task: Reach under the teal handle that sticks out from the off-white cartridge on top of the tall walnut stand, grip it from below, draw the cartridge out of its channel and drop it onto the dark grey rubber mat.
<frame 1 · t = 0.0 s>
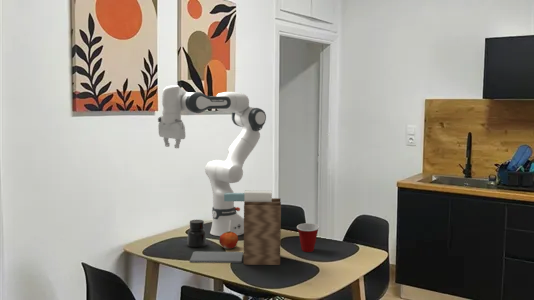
hand: (172, 147, 248), 48 cm above the table, tool pointing down, fingers open, 8 cm apart
plastic cup: (307, 250, 243), on the table
mat: (217, 257, 231), on the table
tomato: (228, 248, 247), on the table
cartridge: (244, 202, 226), point 26 cm above the table, touching stand
ink bottle: (196, 245, 250), on the table
stand: (262, 259, 229), on the table
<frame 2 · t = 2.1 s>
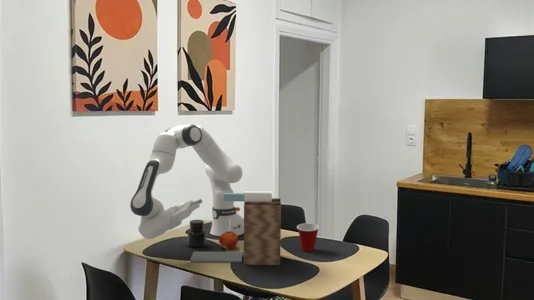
hand: (200, 202, 226), 26 cm above the table, tool pointing upward, fingers open, 8 cm apart
nothing on the table moved.
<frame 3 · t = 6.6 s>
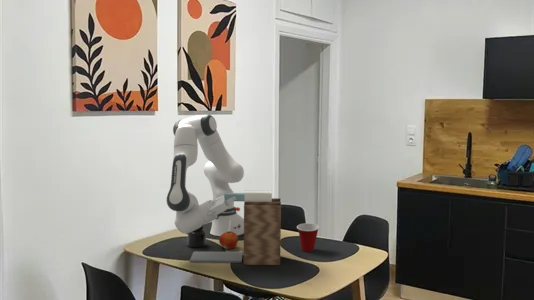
hand: (236, 196, 226), 29 cm above the table, tool pointing upward, fingers closed on cartridge, 3 cm apart
cartridge: (244, 202, 226), point 26 cm above the table, touching gripper, stand
everything else where it was.
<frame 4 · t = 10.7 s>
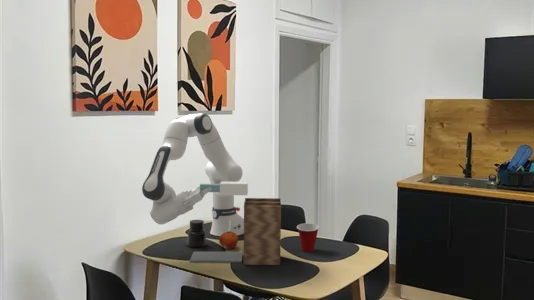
hand: (211, 186, 225), 33 cm above the table, tool pointing upward, fingers closed on cartridge, 3 cm apart
cartridge: (220, 193, 226), point 30 cm above the table, touching gripper
everything else where it was.
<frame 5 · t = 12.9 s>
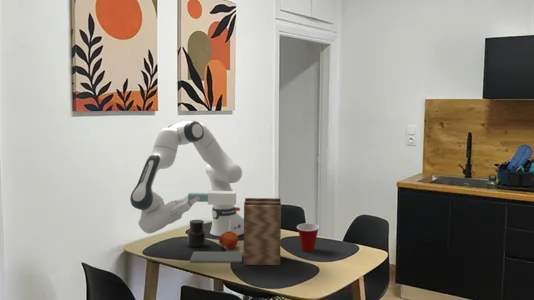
hand: (200, 196, 226), 29 cm above the table, tool pointing upward, fingers closed on cartridge, 3 cm apart
cartridge: (208, 203, 226), point 26 cm above the table, touching gripper
everything else where it was.
when the fingers open (18 cm above the table, at t = 14.9 s): cartridge drops 15 cm, resting on mat.
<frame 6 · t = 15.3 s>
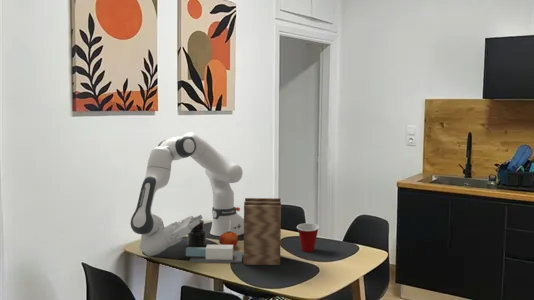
hand: (200, 218, 227), 18 cm above the table, tool pointing upward, fingers open, 7 cm apart
cartridge: (206, 257, 229), point 1 cm above the table, touching mat
everything else where it was.
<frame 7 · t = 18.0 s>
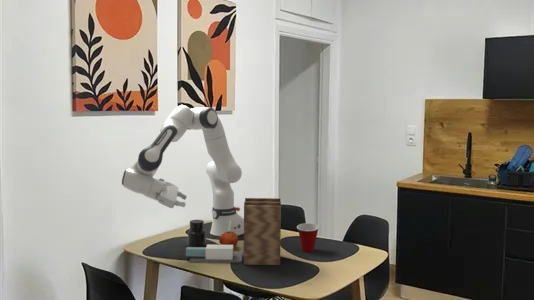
hand: (185, 201, 230), 25 cm above the table, tool tilted 65°, fingers open, 8 cm apart
nothing on the table moved.
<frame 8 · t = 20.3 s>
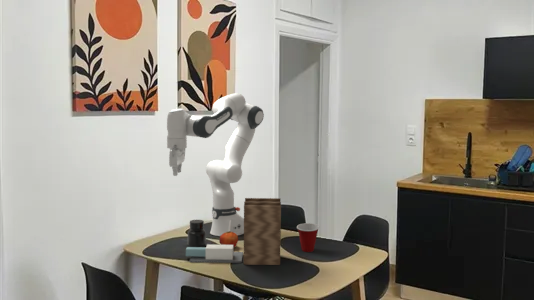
hand: (177, 173, 235), 37 cm above the table, tool pointing down, fingers open, 8 cm apart
nothing on the table moved.
at the end: cartridge touching mat; cartridge 5.0 cm from the mat (horizontally); cartridge point 0.8 cm above the table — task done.
